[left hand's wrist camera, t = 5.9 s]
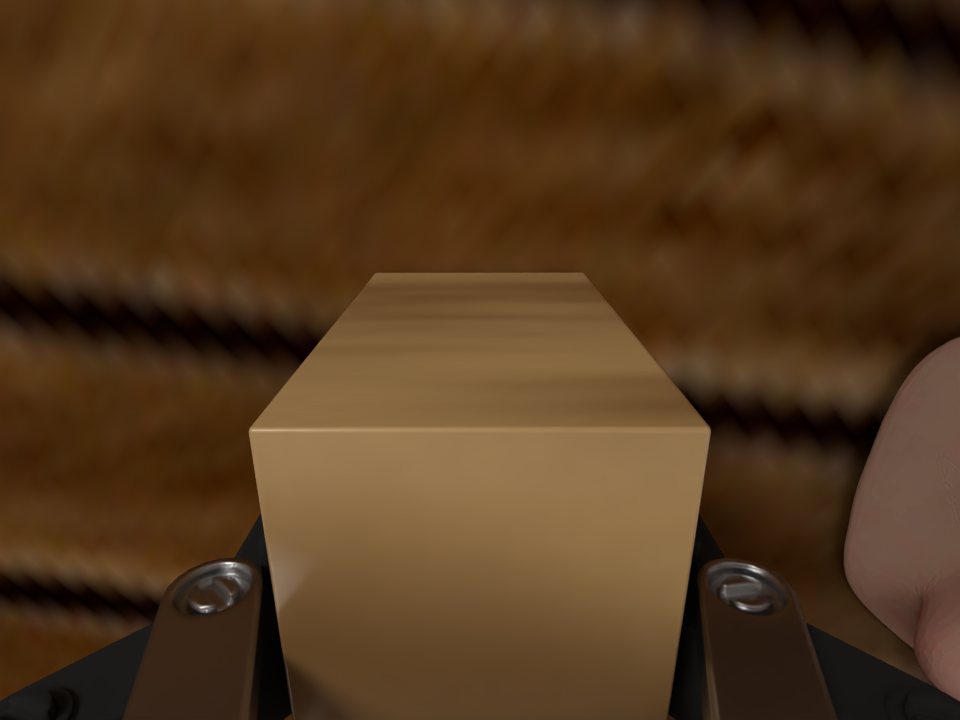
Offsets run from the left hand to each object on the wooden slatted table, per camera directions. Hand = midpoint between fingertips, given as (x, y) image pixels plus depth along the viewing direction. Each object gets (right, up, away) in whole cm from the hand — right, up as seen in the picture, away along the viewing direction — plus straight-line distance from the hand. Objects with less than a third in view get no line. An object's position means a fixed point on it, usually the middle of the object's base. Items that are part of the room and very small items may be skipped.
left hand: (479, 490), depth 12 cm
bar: (0, -28, +13) cm, 31 cm away
